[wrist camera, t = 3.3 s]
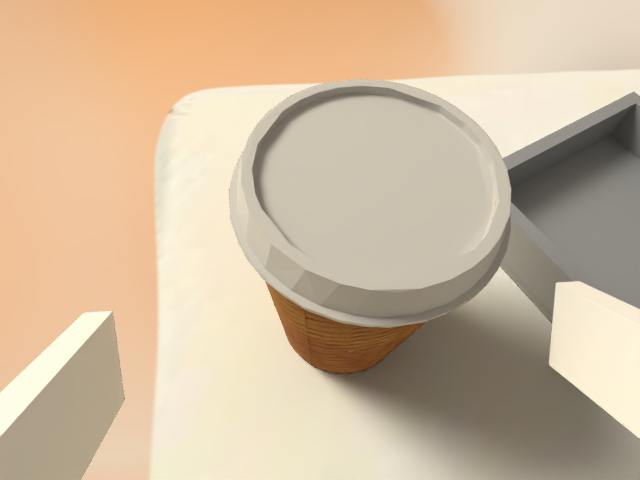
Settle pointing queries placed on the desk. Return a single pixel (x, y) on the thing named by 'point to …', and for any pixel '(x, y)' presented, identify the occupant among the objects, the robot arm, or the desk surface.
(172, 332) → the desk surface
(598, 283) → the charcoal tray
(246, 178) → the disposable coffee cup
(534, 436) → the desk surface
